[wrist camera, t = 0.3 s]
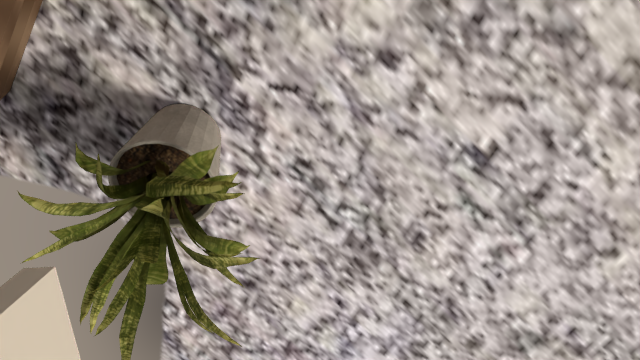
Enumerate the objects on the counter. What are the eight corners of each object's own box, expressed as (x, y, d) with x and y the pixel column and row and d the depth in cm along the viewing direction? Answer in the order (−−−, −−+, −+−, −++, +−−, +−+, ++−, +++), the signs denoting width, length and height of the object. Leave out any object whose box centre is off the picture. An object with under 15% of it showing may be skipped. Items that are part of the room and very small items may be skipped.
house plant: (286, 229, 48) (258, 413, 35) (116, 215, 48) (25, 394, 35) (290, 68, 39) (255, 233, 26) (84, 53, 40) (-53, 208, 26)
